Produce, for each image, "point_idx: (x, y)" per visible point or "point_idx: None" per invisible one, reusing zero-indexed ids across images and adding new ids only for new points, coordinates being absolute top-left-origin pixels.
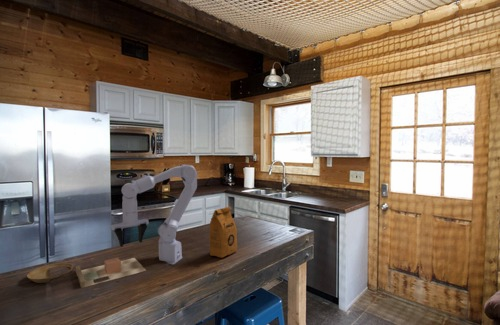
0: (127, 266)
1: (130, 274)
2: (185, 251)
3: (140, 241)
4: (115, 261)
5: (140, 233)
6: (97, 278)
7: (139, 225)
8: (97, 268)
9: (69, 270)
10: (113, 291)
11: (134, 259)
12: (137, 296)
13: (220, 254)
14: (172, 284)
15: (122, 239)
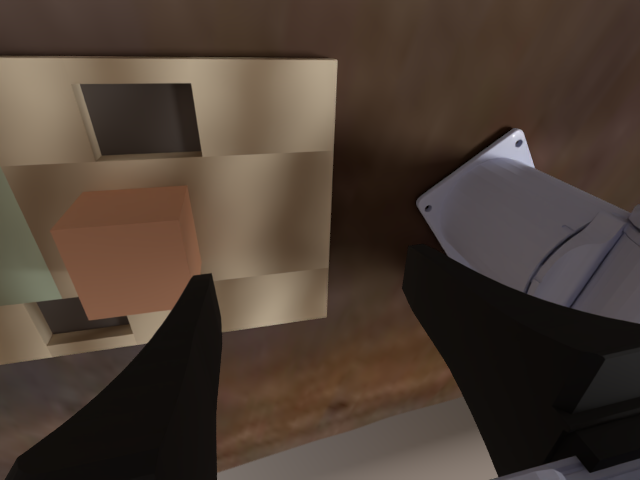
0: (249, 215)
1: (245, 326)
2: (635, 126)
3: (407, 298)
4: (156, 297)
5: (461, 361)
6: (52, 299)
7: (561, 437)
8: (4, 115)
9: None
10: None
11: (325, 105)
12: (239, 442)
13: None
14: (362, 413)
15: (215, 404)
